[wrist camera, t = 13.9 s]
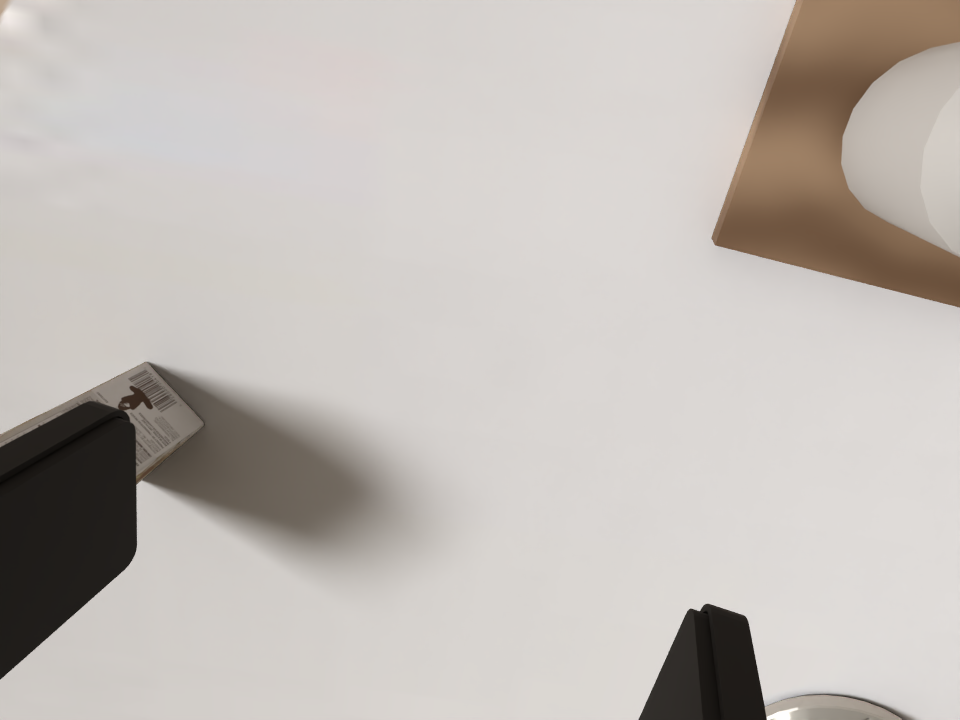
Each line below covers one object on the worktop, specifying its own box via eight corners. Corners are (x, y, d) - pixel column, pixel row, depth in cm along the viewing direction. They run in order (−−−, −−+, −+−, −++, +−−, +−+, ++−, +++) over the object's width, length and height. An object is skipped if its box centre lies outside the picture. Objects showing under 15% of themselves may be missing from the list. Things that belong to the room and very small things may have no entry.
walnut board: (993, 308, 32) (1014, 321, 31) (711, 237, 34) (715, 245, 33) (1170, -7, 27) (1208, -15, 25) (821, -71, 29) (833, -83, 27)
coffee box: (142, 483, 51) (-63, 636, 36) (82, 422, 50) (-152, 553, 35) (209, 423, 47) (10, 566, 32) (146, 355, 46) (-87, 471, 31)
